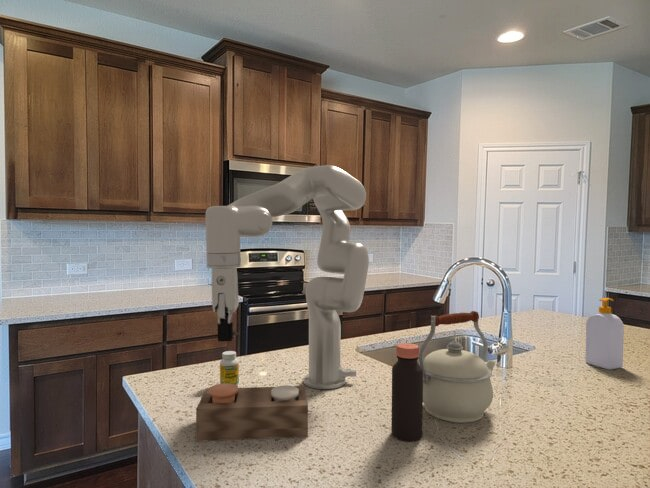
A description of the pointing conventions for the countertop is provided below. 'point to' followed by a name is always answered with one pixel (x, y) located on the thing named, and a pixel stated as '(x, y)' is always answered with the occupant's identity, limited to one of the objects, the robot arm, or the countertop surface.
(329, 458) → the countertop surface
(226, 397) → the orange-brown round piece
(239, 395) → the wooden shaker caddy
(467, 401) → the kettle
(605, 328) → the soap bottle
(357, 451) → the countertop surface
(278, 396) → the cream button
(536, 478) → the countertop surface
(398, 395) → the vinegar
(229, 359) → the supplement bottle
